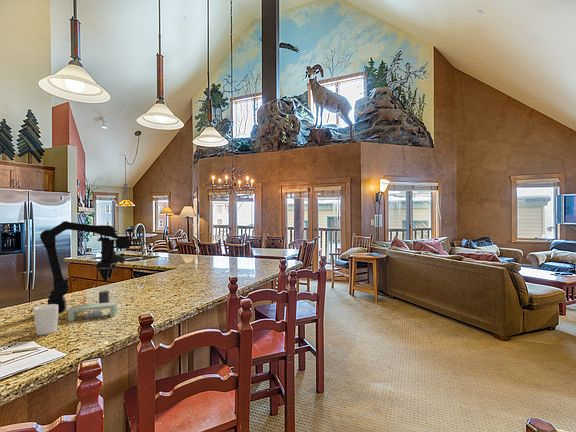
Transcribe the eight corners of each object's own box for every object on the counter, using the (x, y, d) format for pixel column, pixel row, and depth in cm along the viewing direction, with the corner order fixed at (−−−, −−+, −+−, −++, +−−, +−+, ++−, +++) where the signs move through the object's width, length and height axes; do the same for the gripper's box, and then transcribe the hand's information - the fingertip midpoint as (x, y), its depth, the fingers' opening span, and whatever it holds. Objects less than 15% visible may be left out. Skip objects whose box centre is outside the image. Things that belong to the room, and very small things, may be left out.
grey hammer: (91, 313, 153) (91, 301, 153) (100, 302, 173) (100, 291, 173) (101, 313, 155) (100, 300, 155) (109, 301, 175) (109, 290, 175)
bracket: (68, 320, 144) (68, 309, 144) (72, 316, 149) (72, 305, 149) (114, 316, 149) (114, 305, 149) (116, 312, 155) (116, 301, 155)
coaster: (84, 320, 146) (84, 316, 146) (87, 316, 151) (87, 313, 151) (99, 318, 147) (99, 315, 147) (102, 314, 153) (102, 311, 153)
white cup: (53, 327, 135) (52, 303, 135) (62, 330, 131) (62, 305, 131) (30, 333, 129) (29, 308, 129) (39, 337, 125) (39, 310, 125)
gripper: (121, 250, 164) (121, 282, 164) (127, 247, 182) (127, 275, 182) (96, 251, 161) (96, 283, 161) (105, 248, 179) (105, 276, 179)
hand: (107, 279), depth 171 cm, fingers open, 9 cm apart
